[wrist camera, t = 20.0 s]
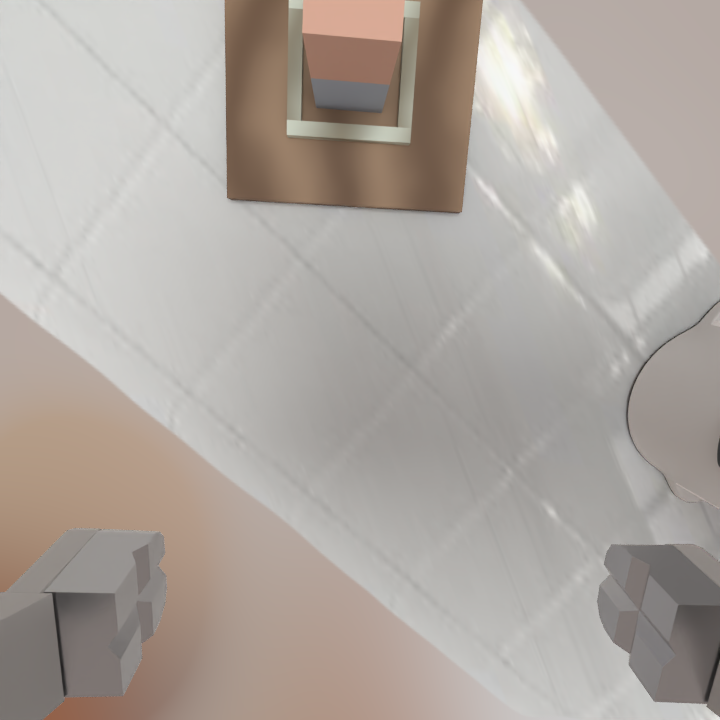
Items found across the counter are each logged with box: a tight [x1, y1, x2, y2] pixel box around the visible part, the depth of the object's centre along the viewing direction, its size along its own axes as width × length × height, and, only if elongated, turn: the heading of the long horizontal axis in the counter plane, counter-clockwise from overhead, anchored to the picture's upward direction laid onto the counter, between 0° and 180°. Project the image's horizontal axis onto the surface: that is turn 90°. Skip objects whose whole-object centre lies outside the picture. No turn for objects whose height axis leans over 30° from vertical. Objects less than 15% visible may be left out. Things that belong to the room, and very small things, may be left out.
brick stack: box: [302, 0, 405, 113], centre depth 27 cm, size 5×5×12 cm
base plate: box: [225, 0, 483, 213], centre depth 34 cm, size 18×18×2 cm
